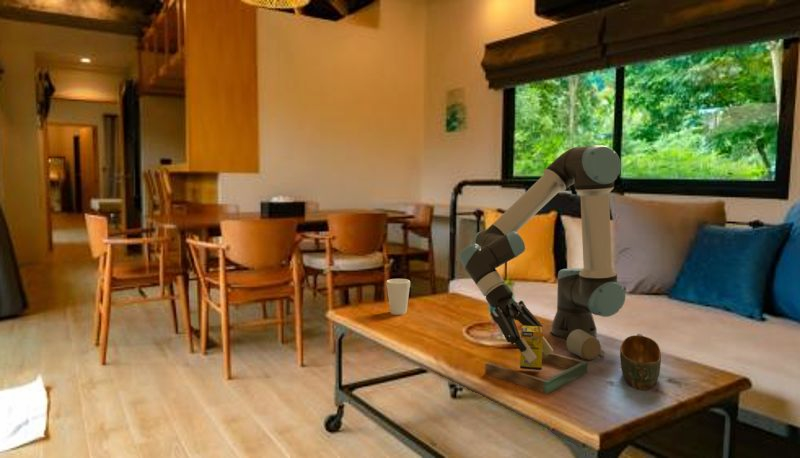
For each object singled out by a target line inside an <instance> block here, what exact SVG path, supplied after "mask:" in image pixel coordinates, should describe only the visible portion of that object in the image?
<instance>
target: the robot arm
mask: <svg viewBox="0 0 800 458" xmlns="http://www.w3.org/2000/svg"><path fill="white" fill-rule="evenodd" d="M621 169H622V163H621V159H620V157H619V155H618V153H617V152H616V151H615V150H614V149H613V148H611V147H609V146H606V145H598V144H594V145H588V146H576V147H571V148H570V149H568V150H565V151H564V152H563V153H562V154H560V155H559V156H558V157H557V158H556V159H554V161H552V162H551V163H550V164H549V165H548V166H547V167H546V168H545V169H544V170H543V172H542V174H543V175H542V176H541V177H540V178H539V179H538V180H537V181H536V182H535V183H534V184H532V185H531V186H530V188H528V190H526V191H525V192H524V193H523V194H522V195H521V196H520V197H519V198H518V199H517V200H516V201H515V202H514V203H513V204H511V205H510V207H509V208H507V210H505V211H504V212H503V213H502V214H501V215H500V216H499V217H498V218H497V219H496V220H495V221H494V222H493V223H492V224H491V225H490V226H489V227H488V228H486V230H482V231H479V232H477V233H475V234H474V236H473V238H472V244H469V245H466V246H465V247H464V248H463V249H462V250H461V251H460V252H459V256H458V259H459V261H460V263H461V265H462V266H463V268H464V270H465V271H466V273H467V274H468V275H469V277H470V278H471V279H472V281H473V282H474V283H475V285H476V286H477V289H479V291H480V292H481V294H482V295H483V296H484V297H485V300H486V301H487V303H488V305H489V306H490V307H491V308H493V310H492V311H491V312H490V314H491V316H492V317H493V318H494V320H495V321H496V323H497V325H498V327H499V329H500V331H501V333H502V334H503V336H504V338H505V340H506V342H508V343H510V344H511V345H514V344H515V346H516V347H517V349H518V350H519V352H520V351H521V352H522V353H523V355H524V356H525V358H526V359H527V361H528V362H529V363H531V362H532V361H533V360H535V359H536V358H537V357H536V355H535V354H534V352H533V351H532V350H531V348H530V347H529V345H528V344H527V342H526V341H525V339H524V338H521V334H520V332H519V330H518V329H519V328H518V327H517V324H516V321H518V322H519V323H520V324H521V326H522V325H524V326H539V327H542V328H543V325H542V323H541V322H540V321H539V320H538V319H537V318H536V316H534V315H533V313H532V312H531V310H530V309H529V308H527V306H526V305H525V303H524V301H523V300H519V302H517V301H516V300H515V299H514V298H513V295H514V294H513V292H512V290H511V288H510V287H509V285H508V284H506V283H505V280H504V279H503V277H502V275H500V273H499V272H498V270H497V268H499V267H501V266H502V265H504V264H507V263H508V262H510V261H511V260H514V259H516V258H517V257H519V256H520V255H521V254H523V253H524V252H525V250H526V244H525V242H524V240H523V238H522V236H521V235H520V234H519V233H518V232H519V231H520V230H521V229H522V227H524V226H525V225H526V224H527V223H528V222H529V221H530V220H531V219H532V218H533V217H534V216H535V215H536V214H537V213H538V212H539V211H541V210H542V209H543V208H544V207H545V206H546V205H547V204H548V203H549V202H550V201H551V200H552V199H553V198H554V197H555V196H557V194H558V193H559V192H565V191H566V190H567V189H569V187H570V186H572V185H574V190H575V192H576V193H578V194H579V196H580V215H581V216H580V217H581V238H582V260H583V262H582V263H583V267H582V268H580V267H579V268H578V267H577V268H575V267H574V268H563V269H560V270H559V271H558V273H557V280H556V281H557V298H556V299H557V303H556V307H557V308H556V312H555V315H554V318H553V321H552V324H551V331H550V332H551V333H552V334H553V335H555V336H557V337H559V338H563V339H567V337H568V335H569V334H570V333H571V332H572V331H574V330H577V329H580V330H583V331H585V332H586V333H588V334H590V335H591V336H593V337H595V338H596V337H597V334H598V333H597V327H596V322H595V319H594V316H593V315H595V316H600V317H603V318H605V317H606V318H609V317H611V316H613V315H616V314H617V313H618V312H619V311H620V310H621V309H622V308H623V307H624V304H625V302H626V291H625V289H624V287H623V286H622V285H621V284H620V283H619V282H618V272H617V271H616V270H615V269H614V268H613V267H612V266H613V263H612V261H613V260H612V259H613V258H612V237H611V212H610V211H611V209H610V208H611V207H610V193H611V192H612V191H613V190H614V188H615V180H617V178H618V176H619V175H620V174H621V171H622V170H621ZM542 351H543V352H544V354H545V355H548V354H549V353H553V351H554V349H553V347H552V346H551V344H550V343H549V342H548V340H547V339H546V337H545V336H544V335H543V344H542Z"/></svg>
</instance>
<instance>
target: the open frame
mask: <svg viewBox="0 0 800 458" xmlns="http://www.w3.org/2000/svg"><path fill="white" fill-rule="evenodd" d="M542 363H545V364H550V365H553V366H557V367H561V368H564V369H565V370H562V371H561V372H558V373H557V374H556V375H553V376H551V377H549V378H546V379H544V378H541V377H538V376H534V375H531V374H527V373H525V372H521V371H517V370H515V369H514V370H513V369H512V368H507V367H505V366H501V365H498V364H494V363H491V362H489V361H488V362H485V364H484V367H485V368H484V374H485V375H488V376H491V377H494V378H498V379H500V380H504V381H506V382H510V383H512V384H517V385H519V386H522V387H526V388H528V389H531V390H534V391H537V392H541V393H544V394H546V395H548V394H550V393H552V392H554V391H555V390H557V389H559V388H561V387H563V386H565V385H566V384H568V383H570V382H572V381H574V380H575V379H578V378H579V377H581V376H584V375H585V374H587V373H588V364H589V363H588V361H584V360H580V359H577V358H573V357H570V356H565V355H561V354H558V353H554V352H551V353H549V354H548V355H545V354H544V352H543V351H542Z"/></svg>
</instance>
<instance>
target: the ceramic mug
mask: <svg viewBox="0 0 800 458" xmlns="http://www.w3.org/2000/svg"><path fill="white" fill-rule="evenodd" d="M601 345H602V344H601V343H600V341H599V340H598V339H597V338H596V337H593V336H591V335H590V334H588V333H586V332H585V331H583V330H580V329H577V330H574V331H572V332H571V333H570V334H569V335H568V337H567V338H566V347H567V350H568V351H569V352H571V353H572V354H574V355H576V356H578V357H580V358H582V359H584V360H586V361H587V360H588V361H591V360H594V359H596V358H597V357H598V356H601V357H604V355H605V354H606V352H605V350H603V349H602V346H601Z"/></svg>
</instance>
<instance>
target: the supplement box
mask: <svg viewBox="0 0 800 458" xmlns="http://www.w3.org/2000/svg"><path fill="white" fill-rule="evenodd" d="M543 336H544V331H543V327H539V326H524V325H522V324H521V325H520V339H521V338H524V339H525V341H526V342H527V344H528V345H529V347H530V348H531V350H532V351H533V352H534V354H535V355H536V357H537V358H536V359H535V360H533V361H532V362H531V363H529V362H528V361H527V359H526V358H525V356H524V355H523V353H522V352H521V351H520V350H519V369H522V370H533V371H534V370H535V371H542V370H543V369H542V367H543V362H542V344H543Z"/></svg>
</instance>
